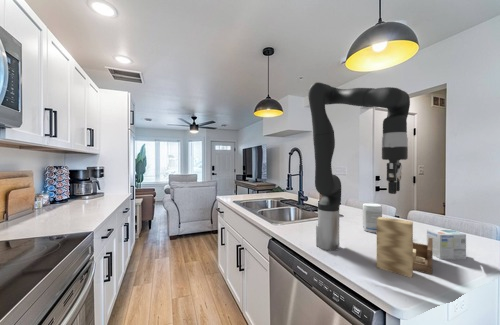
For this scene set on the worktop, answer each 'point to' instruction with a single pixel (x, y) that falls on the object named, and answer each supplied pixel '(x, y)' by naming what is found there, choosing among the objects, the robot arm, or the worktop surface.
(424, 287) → the worktop surface
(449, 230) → the light bulb box
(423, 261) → the pine offcut bottom
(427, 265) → the rack
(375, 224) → the supplement tub
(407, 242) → the oak board
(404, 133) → the robot arm
